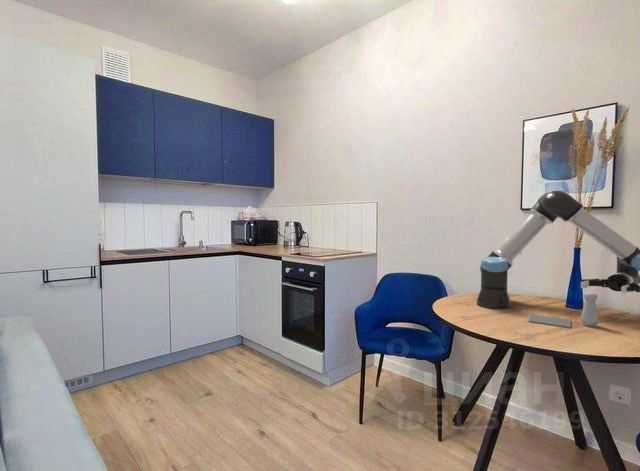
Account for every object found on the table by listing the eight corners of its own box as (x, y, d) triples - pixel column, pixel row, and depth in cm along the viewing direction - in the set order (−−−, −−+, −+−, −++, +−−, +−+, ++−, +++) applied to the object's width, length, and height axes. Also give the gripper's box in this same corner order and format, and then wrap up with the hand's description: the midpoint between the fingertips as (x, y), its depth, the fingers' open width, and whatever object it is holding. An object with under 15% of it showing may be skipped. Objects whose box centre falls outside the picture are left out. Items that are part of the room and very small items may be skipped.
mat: (528, 321, 142) (528, 320, 142) (531, 315, 151) (531, 314, 151) (570, 328, 133) (570, 326, 133) (570, 321, 143) (570, 319, 143)
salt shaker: (581, 326, 136) (582, 293, 135) (578, 322, 141) (579, 291, 140) (600, 328, 133) (601, 295, 133) (596, 324, 138) (597, 292, 138)
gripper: (657, 295, 143) (641, 302, 131) (586, 286, 164) (566, 291, 152) (658, 277, 143) (641, 282, 131) (586, 270, 164) (566, 275, 152)
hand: (601, 287), depth 142 cm, fingers open, 13 cm apart
